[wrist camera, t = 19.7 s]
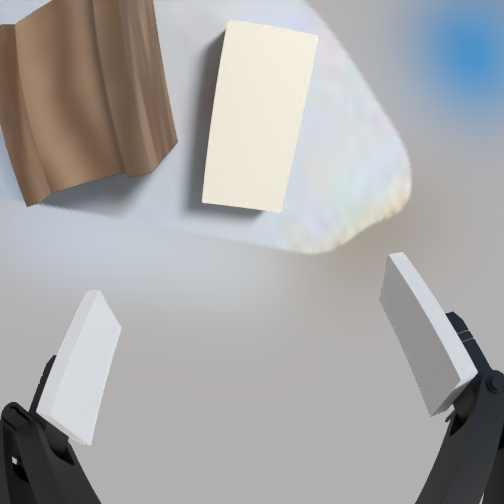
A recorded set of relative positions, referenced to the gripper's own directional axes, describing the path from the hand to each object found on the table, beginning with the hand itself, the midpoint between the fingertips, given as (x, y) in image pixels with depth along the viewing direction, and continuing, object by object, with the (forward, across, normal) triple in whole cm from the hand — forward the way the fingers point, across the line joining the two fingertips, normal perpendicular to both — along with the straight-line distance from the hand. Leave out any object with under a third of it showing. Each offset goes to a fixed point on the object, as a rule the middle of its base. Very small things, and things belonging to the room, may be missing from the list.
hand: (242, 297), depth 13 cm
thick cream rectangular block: (+21, +2, +4) cm, 22 cm away
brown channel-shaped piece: (+21, -13, +12) cm, 27 cm away
